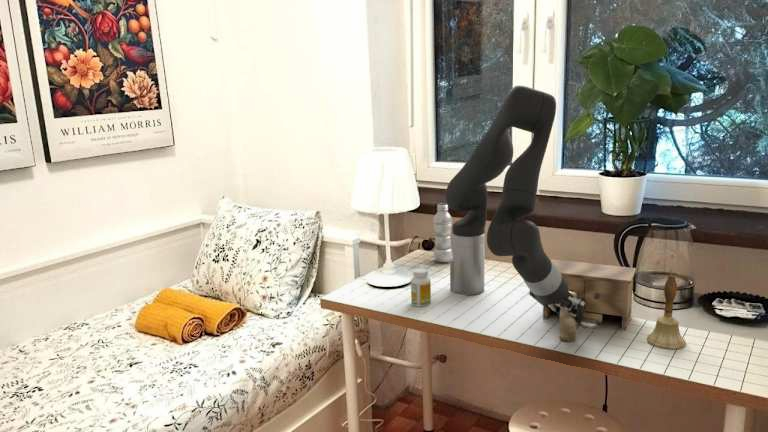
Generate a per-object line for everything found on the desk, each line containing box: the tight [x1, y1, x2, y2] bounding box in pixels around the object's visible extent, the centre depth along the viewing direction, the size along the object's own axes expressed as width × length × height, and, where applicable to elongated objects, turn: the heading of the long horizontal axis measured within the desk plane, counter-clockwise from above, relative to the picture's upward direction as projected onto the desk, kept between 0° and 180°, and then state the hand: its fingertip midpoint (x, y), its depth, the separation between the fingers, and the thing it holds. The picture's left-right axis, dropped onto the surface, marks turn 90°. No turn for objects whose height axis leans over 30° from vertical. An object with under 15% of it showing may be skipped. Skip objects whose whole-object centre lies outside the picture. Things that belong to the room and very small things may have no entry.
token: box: [579, 318, 600, 330], centre depth 150 cm, size 4×4×1 cm
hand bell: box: [646, 274, 687, 350], centre depth 138 cm, size 8×8×16 cm
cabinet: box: [542, 258, 637, 331], centre depth 154 cm, size 21×12×13 cm, turn 62°
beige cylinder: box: [558, 291, 604, 342], centre depth 146 cm, size 10×15×11 cm, turn 152°
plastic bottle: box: [433, 202, 453, 263], centre depth 205 cm, size 6×7×20 cm
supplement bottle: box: [410, 268, 432, 308], centre depth 168 cm, size 5×5×10 cm
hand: (571, 317), depth 143 cm, fingers closed on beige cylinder, 3 cm apart
